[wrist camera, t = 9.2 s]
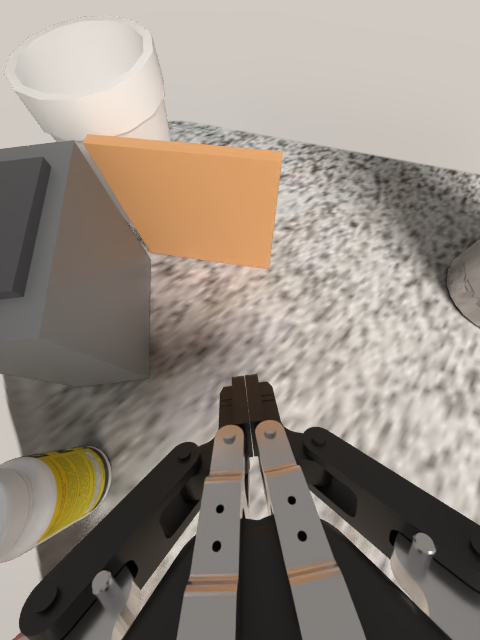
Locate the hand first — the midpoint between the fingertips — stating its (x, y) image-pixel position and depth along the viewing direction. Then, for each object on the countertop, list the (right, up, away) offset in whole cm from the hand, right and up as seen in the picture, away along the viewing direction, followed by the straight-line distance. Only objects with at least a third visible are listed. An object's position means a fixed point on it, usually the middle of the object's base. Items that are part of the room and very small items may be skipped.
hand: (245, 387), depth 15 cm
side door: (-3, +10, +10) cm, 15 cm away
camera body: (-12, +4, +9) cm, 15 cm away
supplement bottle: (-12, -8, +4) cm, 15 cm away
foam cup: (-10, +16, +14) cm, 23 cm away
